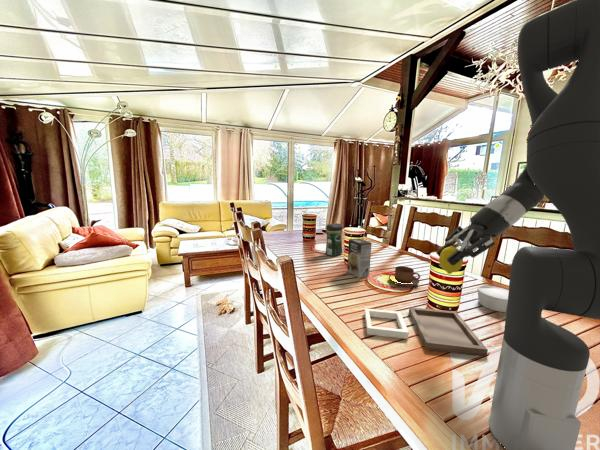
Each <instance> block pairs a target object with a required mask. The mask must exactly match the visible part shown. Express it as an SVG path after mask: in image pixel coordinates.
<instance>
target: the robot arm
mask: <svg viewBox="0 0 600 450" xmlns="http://www.w3.org/2000/svg"><path fill="white" fill-rule="evenodd" d="M516 53H517V64H518V69H519V74H520V80H521V85H522V89H523V92H524V97H525V102H526V106H527V109H528V113H529V117H530V121H531V128H530V130H529V131H528V133H527V137H526V138H527V139H526V165H525V167H524V168H523V170H522V171H521V173H520V175H518V177H517V178H516V179H515V181H514V182H513V183H512V185H510V186H509V187H508V188H507V189H506V190H504V191H503V192H502V193H501V194H499V195H498V196H497V197H495V198H493V199H492V200H491V201H489V202H488V203H487V204H486V205H484V206H483V207H482V208H481V209H480V210H478V211H477V212H476V213H475V214H474V215H472V216H471V217H470V218H469V222H470V224H469V225H468V226H466V227H464V228H463V227H461V226H460V225H458V226H457V227H455V229H453V231H452V232H451V233H450V234H448V236H447V237H445V239H444V241H445V244H444V245H443V246H442V247H441V248H440V249H439V250H437V251H436V254H437V255H438V257H440V254H441V252H442V250H443V249H445V248H447V247H450V246H454V247H455V248H457V249H458V247H459V249H458V250H460V251H458V250H457V251H456V252H455V253H454V254H452V255H451V256H450V257H449V258H447V261H448V262H449V263H450V264H451V265H455V264H456V263H458V262H459V261H460V260H462V259H463V260H464V258H468V257H471V258H472V259H473V258H476V257H477V256H479V255H480V254H482V253H484V252H485V251H487V250H488V249H490V248H491V247H493V246H495V245H496V242H495V241H494V240H493V239H496V238H498V237H499V236H500V235H502V234H503V233H504V232H506V231H507V230H509V228H510V227H512V226H513V225H515V224H516V223H517V222H519V220H520V219H521V218H522V217H523V216H524V215H525V214H527V213H528V212H529V211H531V210H532V209H533V208H535V206H537V205H538V204H539V203H541V202H542V201H543V200H544V198H545V197H546V198H547V200H549V202H550V203H551V204H552V205H553V206H554V207H555V209H556V210H558V212H559V214H560V215H561V216H562V217H563V219H564V221H565V223H566V225H567V227H568V230H569V233H570V236H571V241H572V246H573V249H565V248H557V247H554V248H553V247H543V246H533V245H532V246H531V245H530V246H529V245H527V246H523V247H521V248H519V249H518V250H517V251H516V252H515V254H514V256H513V258H512V262H511V266H510V272H509V273H510V274H509V285H508V290H509V294H508V303H507V309H506V312H505V319H504V320H505V321H504V331H503V338H502V342H501V350H500V352H499V357H498V358H499V360H498V363H497V364H498V366H497V371H496V377H495V381H494V383H495V384H494V388H493V393H492V400H491V408H490V411H489V412H490V414H489V418H488V427H489V430H490V432H491V434H492V436H493V435H494V436H493V438H494V439H495V438H496V439H497V440H498V441H497V440H496V439H495V440H496V441H497V443H498V444H499V443H501V444H502V446H504V447H505V448H506V450H575V449H576V445H577V442H578V438H579V434H580V430H581V426H582V423H581V420H580V419H578V418H577V416H576V412H577V408H578V405H579V400H580V396H581V391H582V387H583V384H584V379H585V375H586V371H587V368H588V365H589V362H590V357H591V354H590V353H591V352H590V348H589V346H588V345H587V343H586V342H585V341H584V340H583V339H581V338H580V337H579V335H578V336H577V334H575V333H574V332H571V331H570V330H568V329H566V328H564V327H562V326H561V325H559V324H556V323H553V322H551V321H549V320H547V319H546V318H544V317H542V313H543V311H547V312H548V311H549V312H554V313H559V314H564V315H565V314H566V315H569V316H570V315H571V316H575V317H581V318H587V319H594V320H599V321H600V0H570V1H569V2H567V3H564V4H562V5H560V6H557V7H555V8H554V9H553V8H552V9H551V10H548V11H546V12H544V13H542V14H540V15H537V16H535V17H533V18H532V19H529V20H528V21H526V22H525V23H524V24H523V25H522V26H521V29H520V30H519V34H518V38H517V51H516ZM577 61H578V62H577ZM574 62H577V64H576V66H575V68H574V71H573V72H572V74H571V75H570V77H569V79H568V80H567V82H566V83H565V85H564V86H563V88H562V89H561V90H560V91H559V92H558V93H557V92H556V91H555V90H554V89H553V88H552V87H551V86H550V85H549V84H548V83H547V81H546V78H545V75H544V72H545V71H549V70H553V69H555V68H558V67H562V66H565V65H567V64H570V63H574ZM502 446H501V447H502Z"/></svg>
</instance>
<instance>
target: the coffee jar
mask: <svg viewBox="0 0 600 450" xmlns="http://www.w3.org/2000/svg"><path fill="white" fill-rule="evenodd" d="M325 227H326V228H325V232H326V245H325V254H326V255H327V256H328V257H329V256H330V257H331V256H332V257H336V256H340V255H342V254H343V243H342V235H343V224H341V223H339V222H337V223H336V222H335V223H329V224H327V225H326V226H325Z"/></svg>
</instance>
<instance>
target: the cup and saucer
mask: <svg viewBox="0 0 600 450" xmlns="http://www.w3.org/2000/svg"><path fill="white" fill-rule="evenodd" d="M394 269H395V270H394V273H392V274H390V275H389V276H388V279H389V280H390V282H392V283H393V282H394V281H392V280H391V279H390V276H391V275H395V279H396V280H397V281H398V282H401V283H411V282H412V283H413V284H401V283H397V282H394V283H393V284H395V283H396V285H398V286H401V285H402V287H403V286H404V287H414V286H417V285H418V284H419V283H420V279H421V275H420V273H418V272H415V270H414V268H412V267H408V266H402V265H399V266H395V267H394ZM414 275H417V276H418V277H416V276H414Z"/></svg>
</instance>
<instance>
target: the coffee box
mask: <svg viewBox="0 0 600 450" xmlns="http://www.w3.org/2000/svg"><path fill="white" fill-rule="evenodd" d="M347 252H348V253H347V272H348V273H349V274H351V275H352V276H354V277H356V278H358V279H362V278H366V277H367V278H368V277H369V276H370V269H371V256H372V242H370V241H368V240H365V239H362V238H359V237H358V238H349V239H348V248H347ZM368 275H369V276H368Z"/></svg>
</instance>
